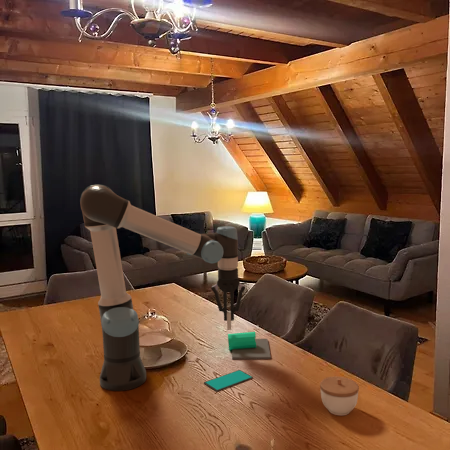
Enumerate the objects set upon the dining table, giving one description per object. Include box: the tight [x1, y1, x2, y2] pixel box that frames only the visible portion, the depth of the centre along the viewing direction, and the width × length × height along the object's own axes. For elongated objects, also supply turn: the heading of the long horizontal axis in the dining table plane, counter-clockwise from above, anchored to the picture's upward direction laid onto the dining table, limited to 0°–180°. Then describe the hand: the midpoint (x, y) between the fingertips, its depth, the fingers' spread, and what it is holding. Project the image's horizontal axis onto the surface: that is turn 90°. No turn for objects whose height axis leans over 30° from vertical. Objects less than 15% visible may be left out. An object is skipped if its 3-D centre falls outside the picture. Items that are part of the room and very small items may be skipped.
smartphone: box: [203, 369, 254, 393], centre depth 157 cm, size 7×1×15 cm
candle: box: [227, 331, 261, 351], centre depth 183 cm, size 6×6×12 cm
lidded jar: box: [319, 376, 360, 417], centre depth 137 cm, size 11×11×9 cm
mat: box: [231, 338, 272, 360], centre depth 183 cm, size 18×14×1 cm
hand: (229, 328), depth 182 cm, fingers closed
